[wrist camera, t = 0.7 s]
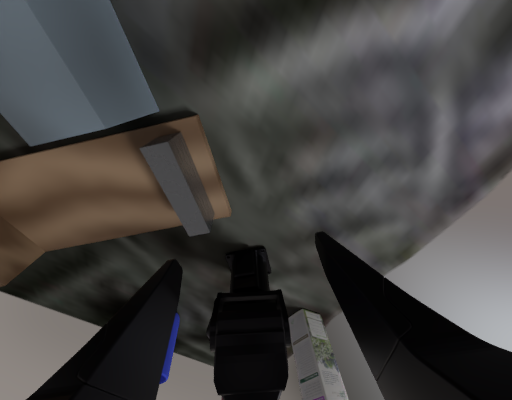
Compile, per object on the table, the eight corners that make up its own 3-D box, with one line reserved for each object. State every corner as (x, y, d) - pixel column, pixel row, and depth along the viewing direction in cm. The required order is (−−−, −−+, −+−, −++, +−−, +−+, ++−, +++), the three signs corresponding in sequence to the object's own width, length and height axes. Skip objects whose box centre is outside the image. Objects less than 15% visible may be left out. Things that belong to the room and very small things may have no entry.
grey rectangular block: (214, 213, 23) (210, 232, 20) (196, 216, 23) (189, 236, 20) (181, 131, 17) (167, 141, 14) (157, 137, 17) (139, 148, 14)
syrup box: (286, 318, 42) (302, 415, 30) (303, 307, 39) (328, 407, 27) (304, 323, 44) (326, 416, 32) (321, 313, 41) (353, 409, 29)
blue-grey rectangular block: (159, 111, 17) (106, 128, 11) (111, 122, 18) (30, 146, 11) (86, -53, 12) (-118, -227, 5) (19, -32, 12) (-255, -172, 6)
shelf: (231, 210, 24) (227, 245, 19) (43, 247, 26) (-8, 288, 21) (198, 114, 18) (178, 127, 12) (-51, 172, 19) (-159, 204, 14)
